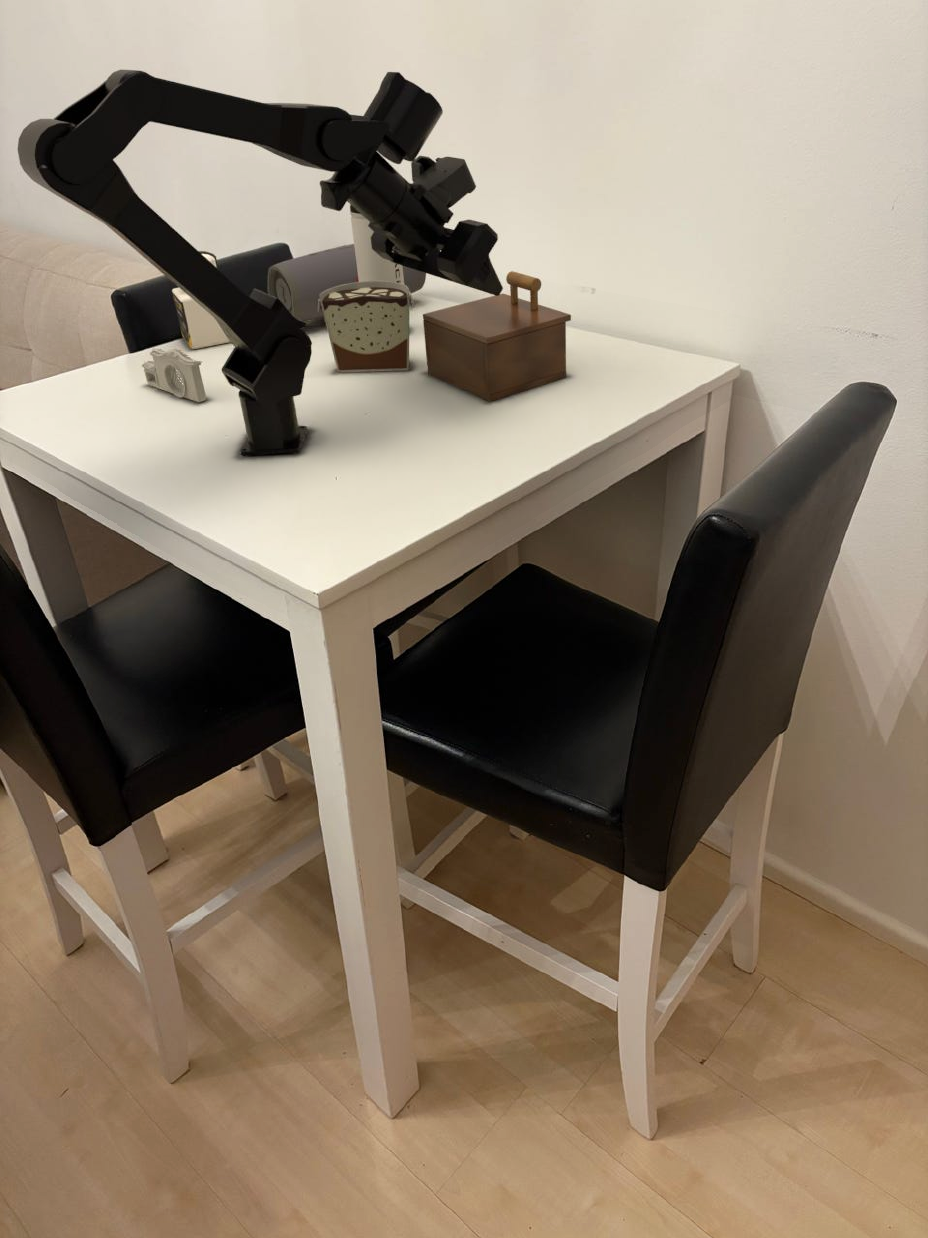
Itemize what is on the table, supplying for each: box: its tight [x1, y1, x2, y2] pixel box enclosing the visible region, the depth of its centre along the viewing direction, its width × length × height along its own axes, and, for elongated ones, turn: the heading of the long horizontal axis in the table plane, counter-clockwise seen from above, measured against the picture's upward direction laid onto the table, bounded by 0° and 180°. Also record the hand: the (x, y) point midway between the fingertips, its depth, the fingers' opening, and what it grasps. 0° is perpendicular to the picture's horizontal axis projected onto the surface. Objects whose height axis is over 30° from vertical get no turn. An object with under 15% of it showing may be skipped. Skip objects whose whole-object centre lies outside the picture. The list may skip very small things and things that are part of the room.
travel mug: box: [349, 204, 404, 284], centre depth 133 cm, size 6×7×20 cm
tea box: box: [422, 320, 567, 402], centre depth 119 cm, size 12×14×7 cm
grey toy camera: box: [141, 347, 207, 403], centre depth 122 cm, size 12×2×6 cm, turn 48°
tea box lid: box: [422, 270, 572, 344], centre depth 116 cm, size 12×14×4 cm
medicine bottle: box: [171, 250, 231, 350], centre depth 139 cm, size 7×7×12 cm
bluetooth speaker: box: [267, 243, 427, 324], centre depth 145 cm, size 23×9×10 cm, turn 126°
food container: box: [318, 281, 415, 373], centre depth 125 cm, size 12×6×10 cm, turn 84°
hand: (476, 284), depth 114 cm, fingers open, 9 cm apart
